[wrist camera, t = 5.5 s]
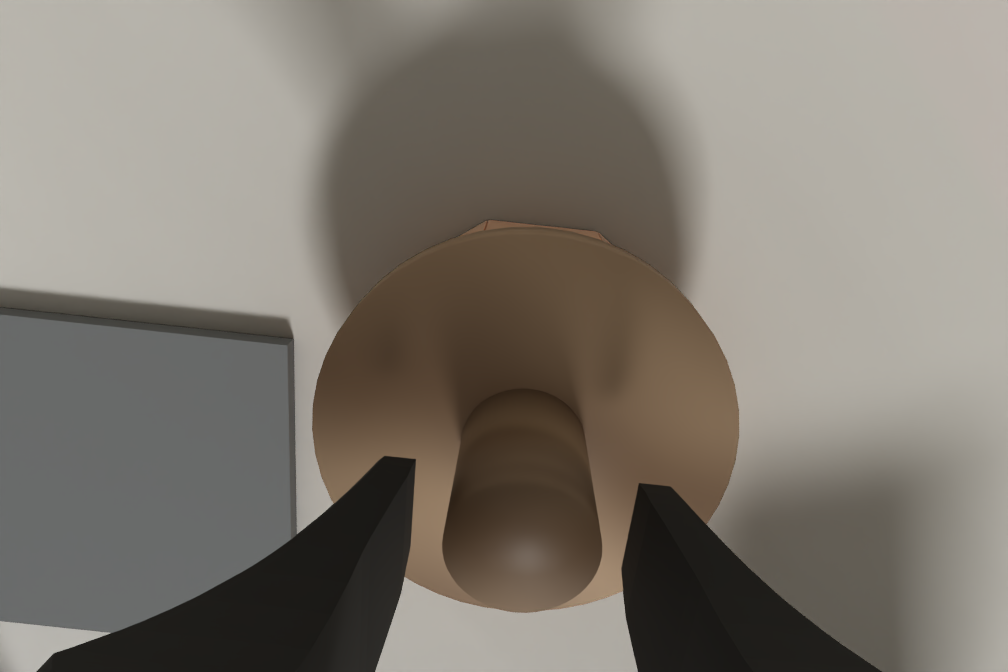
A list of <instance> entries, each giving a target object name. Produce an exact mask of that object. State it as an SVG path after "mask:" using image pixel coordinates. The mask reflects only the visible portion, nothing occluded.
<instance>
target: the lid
mask: <svg viewBox="0 0 1008 672" xmlns="http://www.w3.org/2000/svg"><path fill="white" fill-rule="evenodd" d="M312 431H313V439H314V447H315V454H316V458H317V462H318V465H319V469H320V473H321V476H322V479H323V481H324V483H325V486H326V488H327V490H328V493H329V495H330V498H331V500H332V501H333V503H335V502H336V501H337V500H339V499H340V498H341V497H342V496H343V495H344V494H345V493H346V492H347V491H348V490H349V489H350V488H352V487H353V486H354V485H355V484H356V483H357V482H358V481H359V480H360V479H361V478H362V477H363V476H364V475H365V474H366V473H367V472H368V471H369V470H370V469H371V468H372V467H373V465H374V464H375V463H376V462H377V461H378V460H380V459H381V458H382V457H384V456H392V457H401V458H411V459H416V468H415V484H414V500H413V516H412V532H411V547H410V552H409V557H408V562H407V566H406V571H405V577H406V578H408V579H409V580H411V581H413V582H414V583H416V584H418V585H420V586H423V587H425V588H427V589H429V590H431V591H433V592H435V593H437V594H440V595H443V596H446V597H449V598H452V599H455V600H458V601H460V602H465V603H469V604H473V605H477V606H482V607H487V608H495V609H500V610H504V611H510V612H523V613H528V612H538V611H543V610H552V609H562V608H567V607H572V606H578V605H583V604H587V603H590V602H593V601H597V600H600V599H603V598H607V597H609V596H612V595H614V594H617V593H619V592H621V591H623V584H622V572H621V567H622V562H623V557H624V552H625V548H626V543H627V538H628V533H629V528H630V524H631V519H632V514H633V509H634V504H635V499H636V495H637V490H638V485H639V483H644V484H654V485H663V486H671V487H672V488H673V489H674V490H675V491H676V492H677V493H678V494H679V495H680V497H681V498H682V499H683V500H684V501H685V502H686V503H687V504H688V505H689V506H690V507H691V509H692V510H693V511H694V512H695V513H696V514H697V515H698V516H699V517H700V518H701V519H702V521H703V522H704V523H705V524H707V523H708V521H709V520H710V518H711V516H712V515H713V513H714V512H715V510H716V509H717V507H718V505H719V503H720V501H721V499H722V497H723V494H724V492H725V490H726V488H727V486H728V484H729V480H730V477H731V474H732V470H733V467H734V463H735V460H736V453H737V446H738V439H739V408H738V402H737V396H736V390H735V384H734V381H733V378H732V375H731V372H730V369H729V366H728V363H727V360H726V358H725V356H724V354H723V352H722V350H721V348H720V346H719V344H718V342H717V340H716V338H715V336H714V334H713V333H712V332H711V330H710V329H709V327H708V326H707V325H706V323H705V322H704V320H703V319H702V317H701V316H700V315H699V313H698V312H697V311H696V309H695V308H694V307H693V305H692V304H691V303H690V301H689V300H688V299H687V298H686V297H685V296H684V295H683V294H682V293H681V292H680V291H679V290H678V289H677V288H676V287H675V286H674V284H673V283H672V282H671V281H669V280H668V279H667V278H666V277H664V276H663V275H662V274H660V273H659V272H658V271H657V270H655V269H654V268H653V267H652V266H650V265H649V264H647V263H646V262H644V261H642V260H641V259H639V258H637V257H636V256H634V255H632V254H630V253H629V252H627V251H625V250H623V249H621V248H619V247H616V246H614V245H611V244H609V243H607V242H604V241H602V240H600V239H597V238H593V237H589V236H586V235H582V234H578V233H575V232H571V231H565V230H558V229H550V228H543V227H507V228H499V229H491V230H483V231H478V232H474V233H471V234H467V235H463V236H459V237H455V238H452V239H450V240H447V241H445V242H442V243H440V244H438V245H435V246H433V247H430V248H428V249H426V250H424V251H422V252H421V253H419V254H417V255H415V256H414V257H412V258H410V259H408V260H407V261H405V262H403V263H402V264H400V265H399V266H398V267H397V268H395V269H394V270H393V271H391V272H390V273H389V274H388V275H386V276H385V277H384V278H383V279H381V280H380V281H379V282H378V283H377V284H376V285H375V286H374V287H373V288H372V289H371V291H370V292H369V293H368V294H367V295H366V296H365V297H364V298H363V299H362V300H361V301H360V303H359V304H358V305H357V306H356V308H355V309H354V310H353V312H352V313H351V314H350V316H349V317H348V319H347V320H346V321H345V323H344V324H343V326H342V327H341V328H340V330H339V331H338V332H337V334H336V336H335V338H334V340H333V342H332V344H331V346H330V348H329V350H328V352H327V354H326V356H325V359H324V362H323V365H322V368H321V371H320V374H319V377H318V380H317V385H316V390H315V396H314V402H313V423H312Z"/></svg>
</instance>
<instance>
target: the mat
mask: <svg viewBox="0 0 1008 672" xmlns="http://www.w3.org/2000/svg"><path fill="white" fill-rule="evenodd" d="M295 536H296V468H295V400H294V339H290V338H280V337H271V336H262V335H252V334H243V333H234V332H225V331H215V330H206V329H197V328H187V327H178V326H169V325H160V324H150V323H141V322H132V321H122V320H113V319H104V318H95V317H85V316H76V315H67V314H57V313H48V312H39V311H30V310H20V309H11V308H2V307H0V621H5V622H15V623H24V624H34V625H43V626H53V627H62V628H72V629H81V630H90V631H100V632H109V633H113V632H116V631H119V630H122V629H125V628H127V627H129V626H132V625H134V624H137V623H139V622H142V621H144V620H147V619H149V618H151V617H153V616H156V615H158V614H160V613H163V612H165V611H167V610H170V609H172V608H174V607H176V606H178V605H180V604H182V603H184V602H186V601H189V600H191V599H193V598H195V597H197V596H199V595H201V594H203V593H205V592H206V591H208V590H210V589H212V588H214V587H215V586H217V585H219V584H221V583H223V582H225V581H226V580H228V579H230V578H232V577H234V576H236V575H237V574H239V573H241V572H243V571H245V570H246V569H248V568H250V567H251V566H253V565H254V564H256V563H258V562H259V561H261V560H262V559H264V558H265V557H267V556H268V555H270V554H271V553H273V552H274V551H276V550H277V549H278V548H280V547H281V546H282V545H284V544H285V543H287V542H288V541H289V540H291V539H292V538H293V537H295Z"/></svg>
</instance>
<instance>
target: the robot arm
mask: <svg viewBox="0 0 1008 672" xmlns="http://www.w3.org/2000/svg"><path fill="white" fill-rule="evenodd" d="M415 468H416V459H411V458H401V457H392V456H384V457H382V458H381V459H380V460H378V461H377V462H376V463H375V464H374V465H373V467H372V468H371V469H370V470H369V471H368V472H367V473H366V474H365V475H364V476H363V477H362V478H361V479H360V480H359V481H358V482H357V483H356V484H355V485H354V486H353V487H352V488H350V489H349V490H348V491H347V492H346V493H345V494H344V495H343V496H342V497H341V498H340V499H339V500H337V501H336V502H335V503H334V504H333V505H332V506H331V507H330V508H329V509H328V510H326V511H325V512H324V513H323V514H322V515H321V516H319V517H318V518H317V519H316V520H314V521H313V522H312V523H311V524H310V525H308V526H307V527H306V528H305V529H303V530H302V531H301V532H300V533H298V534H297V535H296V536H295V537H293V538H292V539H291V540H289V541H288V542H287V543H285V544H284V545H282V546H281V547H280V548H278V549H277V550H276V551H274V552H273V553H271V554H270V555H268V556H267V557H265V558H264V559H262V560H261V561H259V562H258V563H256V564H254V565H253V566H251V567H250V568H248V569H246V570H245V571H243V572H241V573H239V574H237V575H236V576H234V577H232V578H230V579H228V580H226V581H225V582H223V583H221V584H219V585H217V586H215V587H214V588H212V589H210V590H208V591H206V592H205V593H203V594H201V595H199V596H197V597H195V598H193V599H191V600H189V601H186V602H184V603H182V604H180V605H178V606H176V607H174V608H172V609H170V610H167V611H165V612H163V613H160V614H158V615H156V616H153V617H151V618H149V619H147V620H144V621H142V622H139V623H137V624H134V625H132V626H129V627H127V628H125V629H122V630H119V631H116V632H113V633H111V634H108V635H105V636H102V637H100V638H97V639H94V640H91V641H89V642H86V643H83V644H80V645H78V646H75V647H72V648H69V649H66V650H63V651H60V652H57V653H54V654H53V655H52V656H51V657H50V658H49V659H48V660H47V661H46V662H45V663H44V664H43V665H42V666H41V668H40V669H39V670H38V671H37V672H375V670H376V667H377V664H378V661H379V658H380V655H381V652H382V649H383V646H384V643H385V640H386V637H387V634H388V631H389V628H390V625H391V622H392V619H393V616H394V613H395V610H396V607H397V604H398V601H399V598H400V594H401V590H402V586H403V581H404V576H405V571H406V566H407V562H408V557H409V552H410V547H411V532H412V516H413V500H414V484H415ZM621 572H622V584H623V595H624V604H625V613H626V620H627V625H628V629H629V634H630V638H631V643H632V647H633V652H634V656H635V660H636V665H637V669H638V672H882V671H880V670H878V669H877V668H875V667H874V666H872V665H871V664H870V663H868V662H867V661H865V660H864V659H862V658H861V657H859V656H858V655H856V654H855V653H853V652H852V651H850V650H849V649H847V648H846V647H845V646H843V645H842V644H840V643H839V642H837V641H836V640H835V639H833V638H832V637H831V636H829V635H828V634H826V633H825V632H824V631H822V630H821V629H820V628H819V627H817V626H816V625H815V624H813V623H812V622H811V621H810V620H808V619H807V618H806V617H805V616H803V615H802V614H801V613H800V612H798V611H797V610H796V609H795V608H793V607H792V606H791V605H790V604H788V603H787V602H786V601H785V600H784V599H782V598H781V597H780V596H779V595H778V594H777V593H775V592H774V591H773V590H772V589H771V588H770V587H769V586H768V585H767V584H766V583H764V582H763V581H762V580H761V579H760V578H759V577H758V576H757V575H756V574H755V573H754V572H752V571H751V570H750V569H749V568H748V567H747V566H746V565H745V564H744V563H743V562H742V561H741V560H740V559H739V558H738V557H737V556H736V555H735V554H734V553H733V552H732V551H731V550H730V549H729V548H728V547H727V546H726V545H725V544H724V543H723V542H722V541H721V540H720V539H719V538H718V537H717V536H716V534H715V533H714V532H713V531H712V530H711V529H710V528H709V527H708V526H707V525H706V524H705V523H704V522H703V521H702V519H701V518H700V517H699V516H698V515H697V514H696V513H695V512H694V511H693V510H692V509H691V507H690V506H689V505H688V504H687V503H686V502H685V501H684V500H683V499H682V498H681V497H680V495H679V494H678V493H677V492H676V491H675V490H674V489H673V488H672V487H671V486H663V485H654V484H644V483H639V485H638V490H637V495H636V499H635V504H634V509H633V514H632V519H631V524H630V528H629V533H628V538H627V543H626V548H625V552H624V557H623V562H622V567H621Z"/></svg>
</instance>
